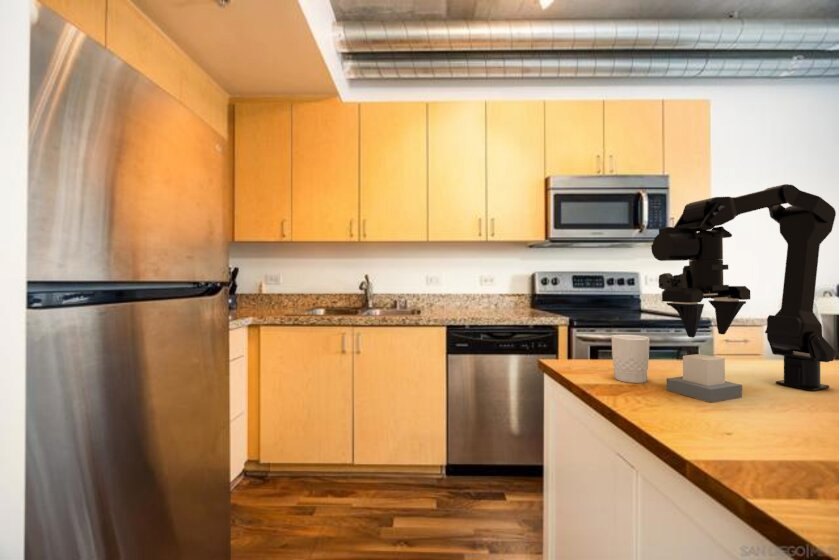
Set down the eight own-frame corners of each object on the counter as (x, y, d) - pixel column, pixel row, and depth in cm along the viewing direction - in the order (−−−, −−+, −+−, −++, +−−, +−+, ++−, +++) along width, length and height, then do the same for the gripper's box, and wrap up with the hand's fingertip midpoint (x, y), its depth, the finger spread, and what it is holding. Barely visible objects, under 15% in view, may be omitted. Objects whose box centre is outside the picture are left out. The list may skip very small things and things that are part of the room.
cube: (699, 377, 84) (699, 354, 84) (724, 383, 79) (724, 358, 79) (683, 379, 82) (682, 355, 82) (707, 385, 77) (707, 360, 77)
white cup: (655, 384, 88) (655, 339, 88) (617, 383, 89) (616, 339, 89) (642, 376, 95) (642, 334, 95) (607, 374, 97) (607, 334, 97)
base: (696, 385, 86) (696, 374, 86) (742, 397, 78) (742, 384, 78) (666, 390, 83) (666, 378, 83) (710, 402, 75) (710, 389, 75)
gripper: (697, 262, 92) (698, 328, 92) (638, 262, 86) (639, 333, 86) (751, 259, 82) (752, 334, 82) (688, 259, 75) (690, 341, 75)
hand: (706, 335), depth 82 cm, fingers open, 9 cm apart
